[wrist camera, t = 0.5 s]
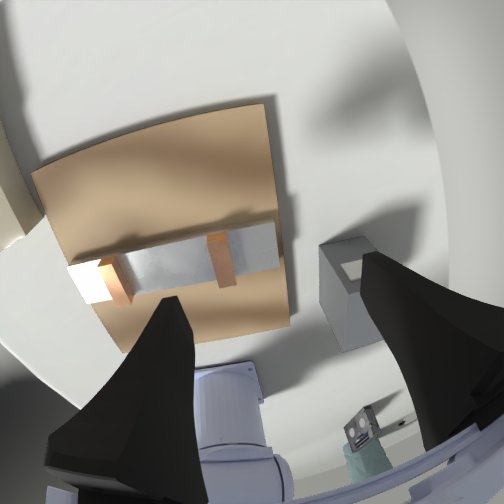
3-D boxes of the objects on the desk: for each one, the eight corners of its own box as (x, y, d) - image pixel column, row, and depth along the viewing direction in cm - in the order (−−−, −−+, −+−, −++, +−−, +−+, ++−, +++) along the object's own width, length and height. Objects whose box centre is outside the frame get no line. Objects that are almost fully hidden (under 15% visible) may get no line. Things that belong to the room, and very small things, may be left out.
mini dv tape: (350, 425, 45) (359, 451, 40) (343, 427, 44) (352, 453, 39) (370, 405, 41) (382, 433, 36) (363, 406, 40) (374, 435, 35)
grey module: (359, 291, 25) (387, 338, 20) (319, 301, 25) (342, 352, 20) (364, 234, 22) (402, 277, 17) (318, 243, 22) (348, 292, 17)
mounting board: (287, 317, 25) (290, 325, 25) (124, 345, 25) (122, 353, 24) (260, 103, 16) (263, 103, 15) (37, 169, 15) (30, 173, 14)
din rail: (277, 259, 21) (283, 275, 19) (90, 295, 20) (83, 312, 19) (271, 215, 19) (277, 229, 17) (71, 259, 18) (62, 275, 17)
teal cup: (333, 452, 54) (345, 493, 44) (350, 437, 49) (366, 482, 39) (368, 444, 56) (381, 481, 46) (387, 427, 51) (403, 468, 41)
